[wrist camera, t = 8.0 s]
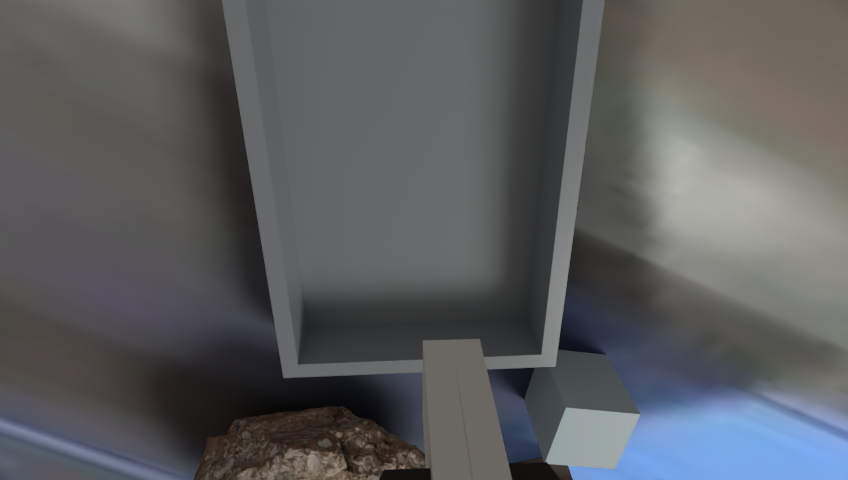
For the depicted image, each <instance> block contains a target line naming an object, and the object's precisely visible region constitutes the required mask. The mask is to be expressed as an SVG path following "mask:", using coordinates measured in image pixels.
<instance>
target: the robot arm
mask: <svg viewBox="0 0 848 480" xmlns="http://www.w3.org/2000/svg"><path fill="white" fill-rule="evenodd" d="M423 431H424V448H425V464H426V468H418V469H392V470H384V471H383V473H382V475H381V477H380V479H379V480H561V479H560V478H559V477H558V475H557V474H556V473H555V472H554V470H553V469H552V468H551V467H550V465H549V464H548V463H547V462H537V463H512V464H508V459H507V455H506V451H505V446H504V442H503V438H502V433H501V429H500V425H499V420H498V416H497V412H496V407H495V403H494V399H493V394H492V390H491V386H490V382H489V377H488V373H487V369H486V364H485V360H484V356H483V351H482V347H481V343H480V339H456V340H423Z"/></svg>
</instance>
